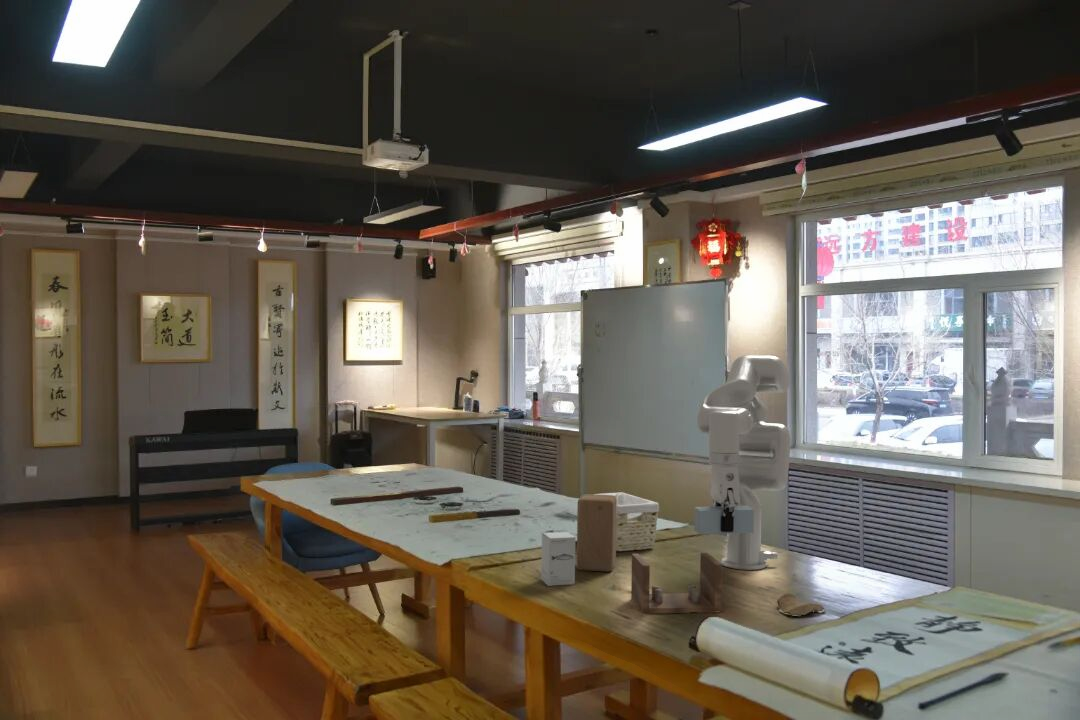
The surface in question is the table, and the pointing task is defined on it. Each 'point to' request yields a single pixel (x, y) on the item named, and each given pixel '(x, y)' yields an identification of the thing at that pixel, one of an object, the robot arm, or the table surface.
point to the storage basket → (634, 522)
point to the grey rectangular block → (710, 520)
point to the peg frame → (678, 602)
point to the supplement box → (558, 558)
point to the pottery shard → (796, 605)
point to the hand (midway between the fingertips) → (723, 528)
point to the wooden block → (596, 532)
